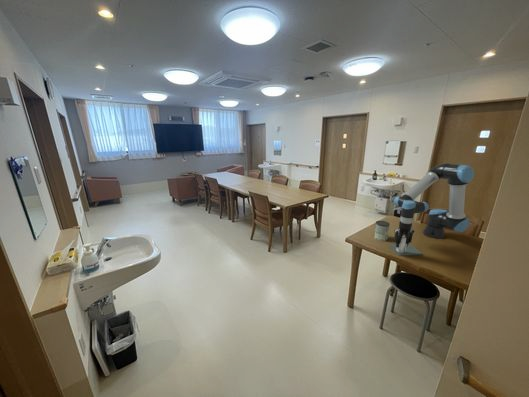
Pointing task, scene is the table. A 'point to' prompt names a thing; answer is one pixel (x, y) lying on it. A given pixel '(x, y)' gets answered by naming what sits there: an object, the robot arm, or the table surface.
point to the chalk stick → (402, 244)
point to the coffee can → (381, 230)
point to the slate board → (407, 250)
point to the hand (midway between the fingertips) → (400, 250)
